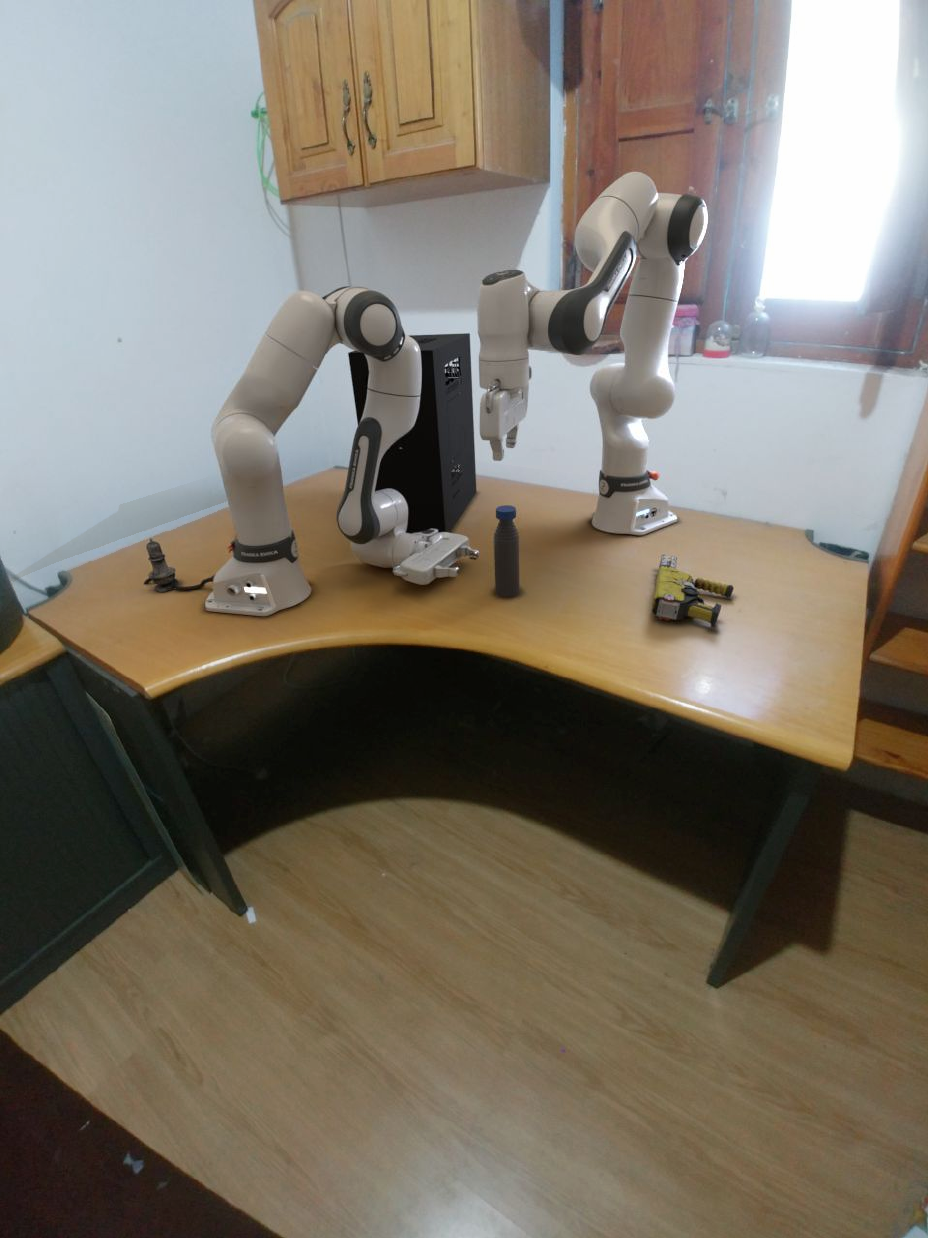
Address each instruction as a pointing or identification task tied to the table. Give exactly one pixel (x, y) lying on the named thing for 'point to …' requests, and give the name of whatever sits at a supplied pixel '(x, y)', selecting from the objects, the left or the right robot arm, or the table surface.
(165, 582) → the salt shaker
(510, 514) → the cap
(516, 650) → the table surface
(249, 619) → the table surface
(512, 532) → the bottle
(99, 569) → the table surface
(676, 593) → the toy gun
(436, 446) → the black boxy piece
